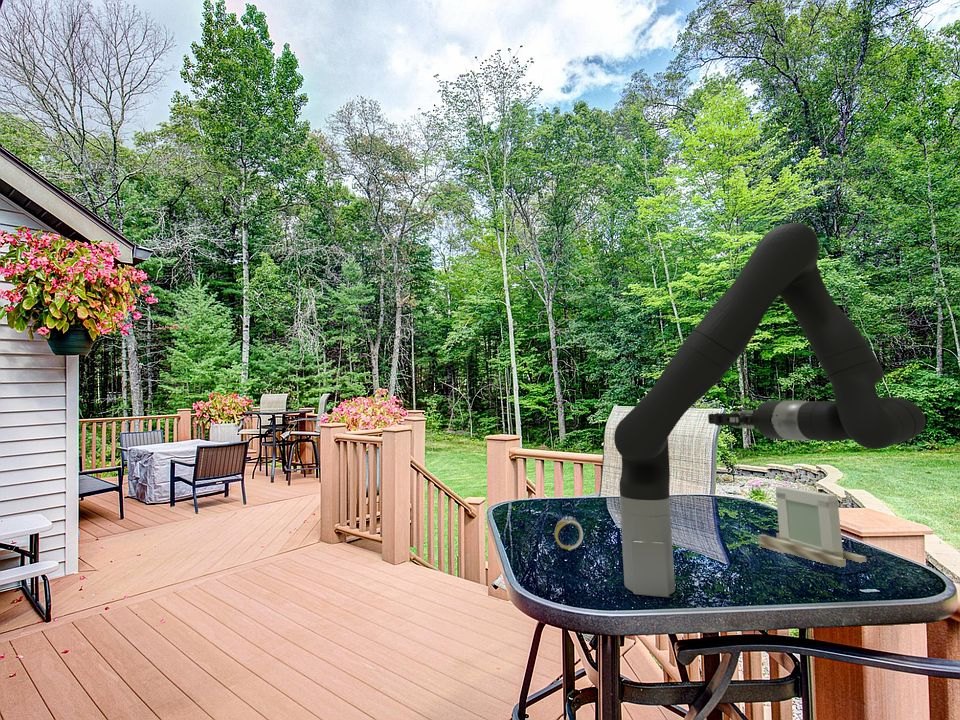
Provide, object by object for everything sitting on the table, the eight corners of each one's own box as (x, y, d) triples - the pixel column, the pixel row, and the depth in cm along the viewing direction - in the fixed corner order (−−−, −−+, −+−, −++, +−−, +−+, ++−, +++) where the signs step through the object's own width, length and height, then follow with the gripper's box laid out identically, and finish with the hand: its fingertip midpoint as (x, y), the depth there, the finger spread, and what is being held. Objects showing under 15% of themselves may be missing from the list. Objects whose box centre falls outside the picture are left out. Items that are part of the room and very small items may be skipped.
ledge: (867, 571, 95) (865, 556, 95) (841, 575, 93) (839, 560, 94) (782, 545, 114) (781, 532, 115) (759, 547, 113) (758, 534, 113)
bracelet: (582, 547, 115) (580, 514, 116) (584, 551, 112) (583, 517, 113) (554, 548, 115) (553, 515, 116) (556, 552, 112) (555, 518, 113)
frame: (843, 563, 98) (837, 495, 99) (834, 564, 97) (827, 496, 99) (789, 546, 110) (784, 486, 112) (780, 547, 110) (775, 486, 111)
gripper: (817, 400, 91) (750, 401, 106) (758, 400, 87) (697, 401, 103) (820, 439, 90) (752, 434, 105) (761, 440, 86) (699, 435, 102)
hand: (725, 418), depth 104 cm, fingers open, 8 cm apart
